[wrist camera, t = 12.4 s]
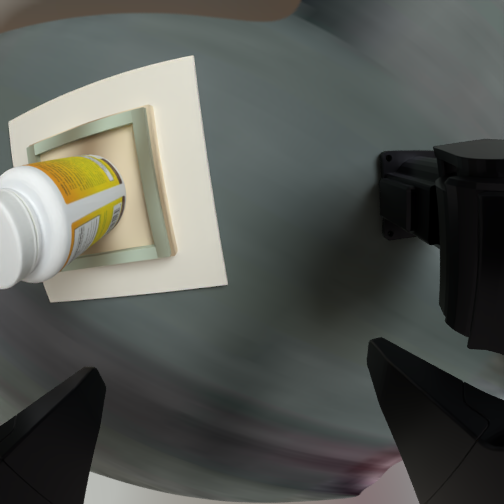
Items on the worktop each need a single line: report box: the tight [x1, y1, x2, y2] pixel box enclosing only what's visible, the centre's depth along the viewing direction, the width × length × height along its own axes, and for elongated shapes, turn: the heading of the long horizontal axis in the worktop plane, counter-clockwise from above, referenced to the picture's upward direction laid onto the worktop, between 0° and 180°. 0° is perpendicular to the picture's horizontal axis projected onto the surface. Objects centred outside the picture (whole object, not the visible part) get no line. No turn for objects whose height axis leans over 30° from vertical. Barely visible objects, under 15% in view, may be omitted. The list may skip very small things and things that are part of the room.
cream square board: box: [9, 56, 228, 302], centre depth 19 cm, size 16×16×1 cm
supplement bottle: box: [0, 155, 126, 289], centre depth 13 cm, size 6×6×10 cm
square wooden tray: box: [26, 104, 178, 272], centre depth 18 cm, size 10×10×2 cm
